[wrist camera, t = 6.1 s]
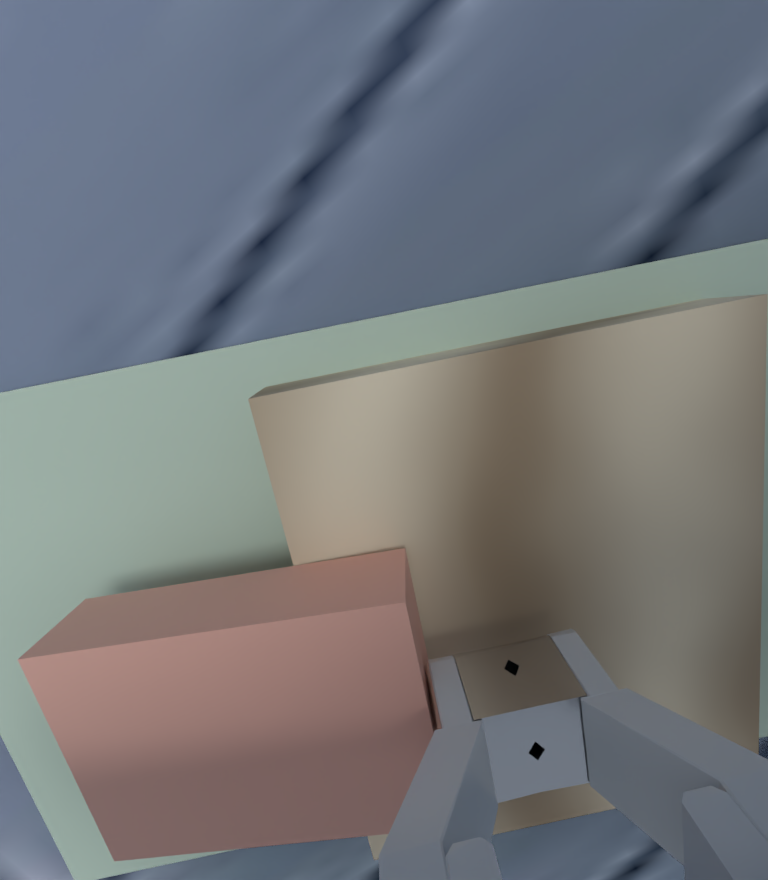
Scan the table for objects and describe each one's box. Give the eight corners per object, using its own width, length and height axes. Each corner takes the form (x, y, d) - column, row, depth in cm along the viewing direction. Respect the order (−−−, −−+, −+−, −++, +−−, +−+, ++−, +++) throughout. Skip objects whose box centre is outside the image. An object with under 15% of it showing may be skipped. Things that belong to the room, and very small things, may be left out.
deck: (692, 299, 11) (767, 293, 9) (700, 713, 14) (758, 777, 12) (267, 384, 10) (248, 398, 9) (371, 783, 14) (374, 860, 12)
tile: (405, 547, 9) (405, 602, 7) (445, 742, 10) (453, 827, 9) (85, 598, 10) (17, 659, 8) (159, 776, 11) (114, 860, 9)
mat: (820, 228, 10) (833, 225, 10) (797, 719, 14) (806, 727, 14) (-144, 421, 10) (-158, 424, 10) (82, 871, 14) (76, 883, 13)
